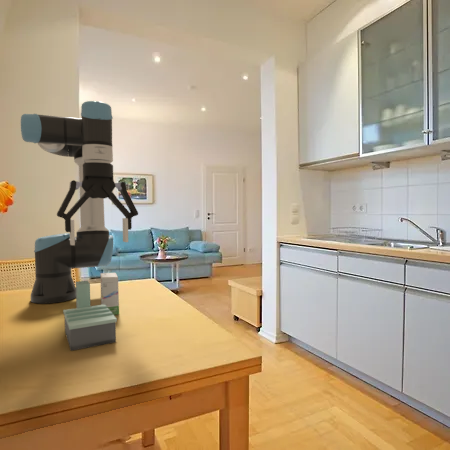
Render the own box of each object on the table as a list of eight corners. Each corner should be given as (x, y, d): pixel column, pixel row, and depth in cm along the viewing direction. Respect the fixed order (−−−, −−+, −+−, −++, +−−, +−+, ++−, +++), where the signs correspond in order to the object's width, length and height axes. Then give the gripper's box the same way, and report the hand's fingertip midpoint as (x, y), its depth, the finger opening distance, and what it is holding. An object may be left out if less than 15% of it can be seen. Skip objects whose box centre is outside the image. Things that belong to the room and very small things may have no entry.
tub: (70, 350, 79) (70, 328, 79) (65, 332, 91) (64, 313, 91) (115, 342, 84) (115, 321, 84) (104, 325, 96) (104, 307, 96)
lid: (69, 334, 78) (68, 298, 78) (62, 312, 95) (61, 283, 95) (116, 326, 83) (116, 293, 83) (101, 306, 100) (100, 279, 100)
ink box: (119, 314, 106) (118, 276, 106) (102, 316, 104) (101, 277, 104) (116, 307, 114) (116, 271, 114) (100, 309, 112) (99, 273, 112)
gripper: (46, 158, 82) (49, 247, 83) (148, 164, 95) (149, 241, 96) (43, 161, 88) (46, 244, 90) (140, 166, 101) (141, 239, 102)
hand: (100, 243), depth 93 cm, fingers open, 13 cm apart
